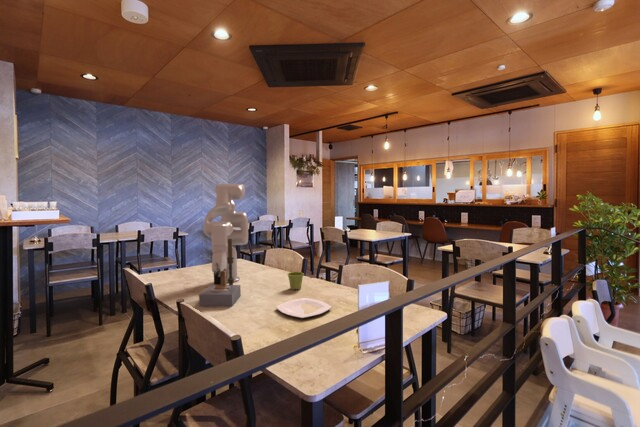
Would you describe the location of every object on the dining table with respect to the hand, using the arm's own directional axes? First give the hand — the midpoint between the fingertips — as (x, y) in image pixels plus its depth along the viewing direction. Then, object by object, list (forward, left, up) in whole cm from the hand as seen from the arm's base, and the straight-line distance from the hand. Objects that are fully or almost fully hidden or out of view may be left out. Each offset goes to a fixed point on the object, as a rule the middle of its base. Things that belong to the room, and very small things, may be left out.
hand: (220, 281), depth 171 cm
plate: (+12, +43, -11) cm, 46 cm away
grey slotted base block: (0, 0, -10) cm, 10 cm away
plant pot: (-22, +36, -10) cm, 43 cm away
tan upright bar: (+1, 0, -9) cm, 9 cm away
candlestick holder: (-18, 0, -10) cm, 20 cm away
